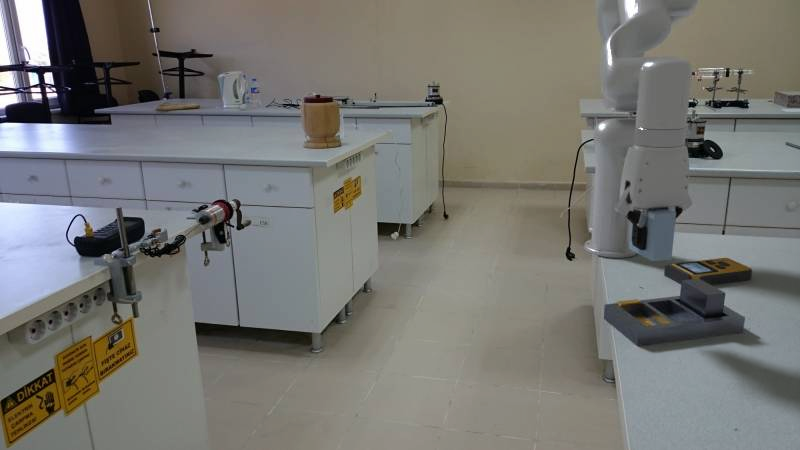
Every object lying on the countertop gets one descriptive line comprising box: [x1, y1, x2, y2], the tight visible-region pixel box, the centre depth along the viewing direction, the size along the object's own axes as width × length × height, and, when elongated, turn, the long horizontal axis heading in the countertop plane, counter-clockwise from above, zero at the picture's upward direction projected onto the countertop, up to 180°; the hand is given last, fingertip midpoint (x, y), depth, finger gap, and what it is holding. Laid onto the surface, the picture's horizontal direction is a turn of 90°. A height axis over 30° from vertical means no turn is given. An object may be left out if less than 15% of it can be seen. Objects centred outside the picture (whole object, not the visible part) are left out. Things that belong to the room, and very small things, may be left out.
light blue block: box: [629, 208, 677, 262], centre depth 103 cm, size 7×4×8 cm, turn 11°
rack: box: [603, 279, 746, 347], centre depth 108 cm, size 11×20×7 cm, turn 101°
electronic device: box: [663, 257, 753, 286], centre depth 129 cm, size 8×16×3 cm, turn 103°
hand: (650, 245), depth 103 cm, fingers closed on light blue block, 3 cm apart
